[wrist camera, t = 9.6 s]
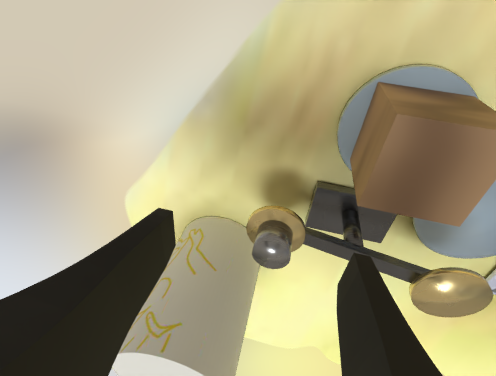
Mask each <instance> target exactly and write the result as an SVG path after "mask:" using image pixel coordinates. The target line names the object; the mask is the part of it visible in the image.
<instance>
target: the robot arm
mask: <svg viewBox="0 0 496 376" xmlns="http://www.w3.org/2000/svg"><path fill="white" fill-rule="evenodd" d="M175 246H176V243H175V231H174V220H173V211H170V210H165V209H161V208H158V209H156V210H155V211H154V212H152V213H151V214H149V215H148V216H146V217H145V218H144V219H142V220H141V221H140V222H138V223H137V224H135V225H134V226H133V227H131V228H130V229H128V230H127V231H125V232H124V233H122V234H121V235H120V236H118V237H117V238H115V239H114V240H112V241H111V242H109V243H108V244H106V245H105V246H103V247H101V248H100V249H98V250H97V251H95V252H94V253H92V254H90V255H89V256H87V257H85V258H84V259H82V260H80V261H79V262H77V263H75V264H73V265H72V266H70V267H68V268H66V269H64V270H63V271H61V272H59V273H57V274H55V275H53V276H51V277H49V278H47V279H45V280H43V281H41V282H38V283H36V284H34V285H32V286H30V287H28V288H26V289H24V290H21V291H20V292H17V293H15V294H13V295H10V296H8V297H6V298H4V299H1V300H0V376H108V375H109V372H110V370H111V368H112V366H113V364H114V362H115V359H116V357H117V355H118V353H119V351H120V349H121V347H122V344H123V342H124V340H125V338H126V336H127V334H128V332H129V330H130V328H131V326H132V324H133V322H134V321H135V319H136V317H137V315H138V314H139V312H140V310H141V309H142V307H143V305H144V304H145V302H146V300H147V299H148V297H149V295H150V294H151V292H152V290H153V289H154V287H155V285H156V284H157V282H158V280H159V279H160V277H161V275H162V273H163V272H164V270H165V268H166V266H167V264H168V262H169V260H170V258H171V255H172V253H173V251H174V248H175ZM486 281H487V282H488V284H489V286H490V287H491V289H492V292H493V294H495V295H496V269H495V270H494V271H493V272H492V273H491V274H490V275H489V276H488V277H487V278H486ZM337 321H338V333H339V345H340V357H341V368H342V376H442V374H441V373H440V371H439V370H438V369H437V367H436V366H435V364H434V363H433V362H432V360H431V359H430V357H429V356H428V354H427V353H426V351H425V350H424V348H423V347H422V345H421V344H420V342H419V341H418V339H417V338H416V336H415V334H414V333H413V331H412V330H411V328H410V326H409V325H408V323H407V322H406V320H405V318H404V316H403V315H402V313H401V311H400V310H399V308H398V306H397V304H396V303H395V301H394V299H393V297H392V296H391V294H390V292H389V290H388V288H387V286H386V285H385V283H384V281H383V279H382V277H381V275H380V273H379V271H378V269H377V267H376V265H375V264H374V262H373V260H372V258H371V256H367V255H362V254H358V253H353V255H352V257H351V259H350V261H349V263H348V265H347V267H346V269H345V271H344V273H343V275H342V277H341V279H340V281H339V283H338V290H337Z"/></svg>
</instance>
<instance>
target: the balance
mask: <svg viewBox="0 0 496 376" xmlns="http://www.w3.org/2000/svg"><path fill="white" fill-rule="evenodd" d="M396 215H397V214H394V213H389V212H384V211H380V210H375V209H370V208H365V207H360V206H357V200H356V194H355V189H354V188H349V187H344V186H339V185H334V184H329V183H324V182H319V181H317V184H316V187H315V190H314V194H313V197H312V200H311V204H310V207H309V210H308V213H307V217H306V220H305V225H304V222H303V220H302V219H301V218H300V217H299V216H298V215H297V214H296V213H295V212H293V211H291V210H289V209H287V208H284V207H280V206H265V207H262V208H259V209H257V210H256V211H254V212H253V213H252V214H251V216H250V217H249V220H248V223H247V227H246V231H247V235H248V237H249V239H250V240H251V242H252V243H253V244H254V246H253V249H252V257H253V259H254V260H255V261H256V262H257V263H258V264H260V265H261V266H263V267H266V268H270V269H279V268H283V267H285V266H286V265H287V264H288V263H289V261H290V256H291V252H293V251H295V250H297V249H298V248H300V247H301V245H302V244H305V245H308V246H310V247H313V248H316V249H319V250H321V251H324V252H327V253H330V254H332V255H335V256H338V257H341V258H343V259H346V260H349V261H350V259H351V257H352V255H353V253H358V254H362V255H367V256H371V258H372V260H373V262H374V264H375V265H376V267H377V269H378V271H379V272H382V273H385V274H388V275H390V276H393V277H396V278H399V279H401V280H404V281H407V282H410V283H411V284H410V287H409V293H410V296H411V300H412V302H413V304H414V305H415V306H416V307H417V308H418V309H419V310H421V311H423V312H425V313H427V314H430V315H434V316H440V317H461V316H467V315H470V314H474V313H476V312H479V311H481V310H482V309H484V308H485V307H487V306H488V305H489V304H490V302H491V301H492V298H493V292H492V289H491V287H490V286H489V284H488V282H487V281H486V279H485V278H484V277H483V276H481V275H480V274H478V273H476V272H474V271H471V270H468V269H463V268H452V267H450V268H439V269H434V270H428V269H425V268H423V267H420V266H417V265H414V264H411V263H408V262H405V261H402V260H399V259H397V258H394V257H391V256H388V255H385V254H382V253H379V252H376V251H373V250H371V249H368V248H365V247H364V246H363V240H362V239H364V240H368V241H373V242H377V243H381V242H382V240H383V238H384V237H385V235H386V233H387V231H388V230H389V228H390V226H391V224H392V223H393V221H394V219H395V217H396ZM307 227H310V228H314V229H319V230H323V231H328V232H332V233H337V234H341V235H343V236H344V240H342V239H339V238H336V237H333V236H330V235H327V234H324V233H321V232H319V231H316V230H313V229H310V228H307Z"/></svg>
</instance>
